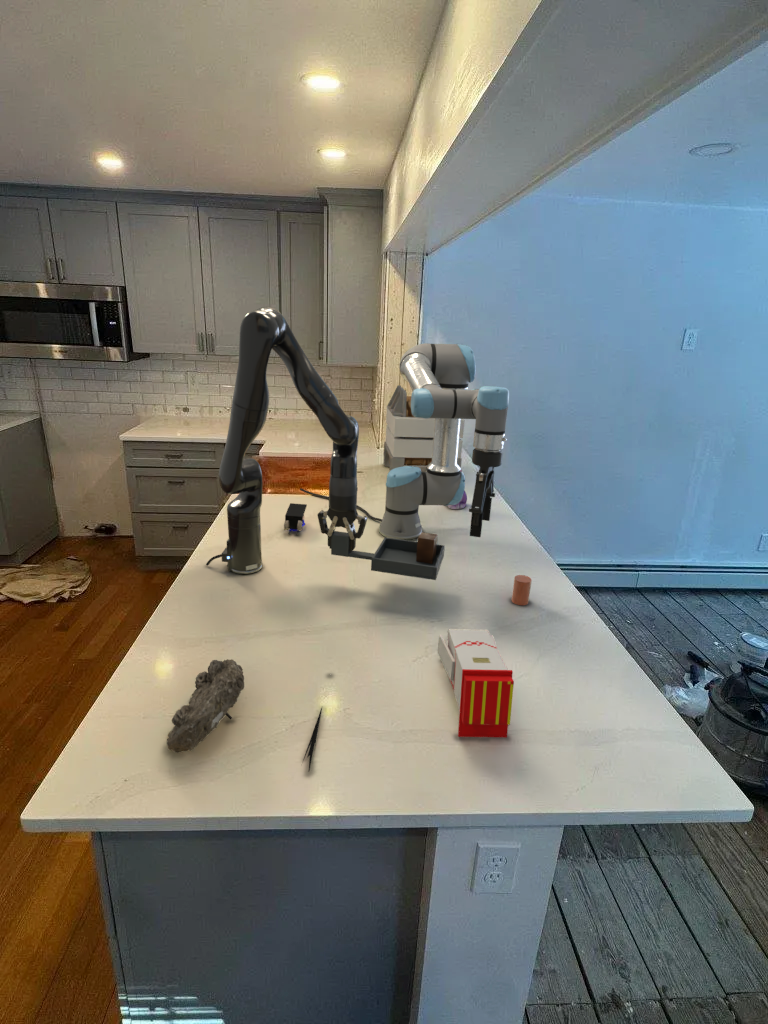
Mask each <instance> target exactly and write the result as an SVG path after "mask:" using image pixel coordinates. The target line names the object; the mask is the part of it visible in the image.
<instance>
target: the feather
mask: <svg viewBox="0 0 768 1024" xmlns="http://www.w3.org/2000/svg"><path fill="white" fill-rule="evenodd" d="M329 675H330V676H331V675H332V674H331V673H330V674H329ZM322 710H323V707H321V708H320V710H319V713H318V716H317V719H316V723H315V725H314V728H313V731H312V733H311V737H310V739H309V742H308V745H307V748H306V751H305V754H304V757H303V760H302V763H301V767H302V765H303V763H304V761H305V758H308V759H309V760H308V762H307V763H308V764H307V766H308V771H310V770H311V766H312V765H311V764H312V760H313V757H315V756H314V755H315V751H316V749H315V746H317V739H318V733H319V729H320V722H321V717H322V712H323V711H322ZM313 754H314V755H313ZM306 755H307V757H306Z"/></svg>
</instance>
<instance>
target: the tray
mask: <svg viewBox="0 0 768 1024" xmlns="http://www.w3.org/2000/svg"><path fill="white" fill-rule="evenodd" d="M349 539H350V536H349V533H348V532H347V531H346V532H345V531H339V530H335V531H334V533H333V534H332V540H331V549H330V555H332V556H339V557H345V558H355V559H361V560H368V561H370V571H372V572H378V573H386V574H392V575H397V576H398V575H399V576H405V577H412V578H419V579H425V580H432V581H436V580H437V577H438V574H439V572H440V570H441V566H442V563H443V560H444V557H445V548H446V547H445V545H444V544H438V543H437V546H436V557H435V559H434V561H433V563H432V564H430V563H424V562H418V561H416V556H417V543H418V541H417V540H416V541H414V540H401V539H394V538H387V537H384V538H383V539H382V541H381V543H380V544H379V546H378V547H377V549H376V550H375V552H366V551H359V550H353V551H352V552H350V551H349Z"/></svg>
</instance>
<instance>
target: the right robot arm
mask: <svg viewBox="0 0 768 1024" xmlns="http://www.w3.org/2000/svg"><path fill="white" fill-rule="evenodd" d="M476 370H477V368H476V357H475V354H474V350H473V349H472V347H470V346H469V345H467V344H466V345H465V344H458V343H429V342H424V343H419V344H416V345H414V346H412V347H411V348H409V349H408V350H407V351H405V352H404V354H403V355H402V356H401V358H400V361H399V372H400V375H401V377H402V379H403V380H404V381H406V382H407V383H408V385H409V387H410V390H411V395H410V396H411V413H412V415H413V416H414V417H418V418H424V419H428V418H435V424H434V437H433V451H432V462H431V463H430V464H429V465H427V466H426V471H422V469H421V467H420V466H407V465H404V466H403V467H398V468H394V469H392V470H391V471H390V470H388V473H387V475H386V480H385V481H386V482H385V487H386V488H385V504H384V505H385V507H384V508H385V509H384V513H383V515H382V518H378V517H375V516H373V515H371V514H370V513H369V512H368V511H367V510H366V509H365V508H363V507H361V506H360V505H357V508H356V509H358V510H360V511H362V512H363V513H364V514H365V516H366V517H367V518H369V519H371V520H373V521H378V522H379V527H378V533H379V534H380V535H381V536H382V537H384V538H385V537H387V538H394V539H401V540H409V541H412V540H415V539H418V537H419V535H420V534H421V532H423V525H422V524H421V518H420V515H419V507H420V506H444V507H448V506H447V505H456V504H458V503H459V502H460V501H461V499H462V496H463V493H464V491H465V489H466V477H465V474H464V472H463V471H462V472H460V471H461V470H462V467H461V468H460V467H459V466H458V465H457V454H458V443H459V431H460V420H461V419H464V420H475V425H474V432H473V443H472V446H473V448H474V449H472V456H471V463H472V464H473V465H475V466H478V467H479V469H478V471H476V474H475V484H474V489H473V496H472V502H471V506H470V508H468V512H469V513H471V519H470V529H469V537H474V538H481V536H482V528H483V521H486V522H490V520H491V519H490V518H491V510H492V500H493V498H495V497H496V493H495V490H494V489H495V488H494V487H495V468H498V467H501V465H502V464H503V455H504V453H503V451H502V450H503V449H504V445H505V442H507V440H508V439H507V437H505V435H506V427H507V419H508V410H509V406H510V391H509V389H508V388H506V387H504V386H503V387H502V386H495V385H493V386H492V385H485V386H484V385H483V386H481V387H479V388H472V389H469V383H470V384H472V383H473V382H474V380H475V379H476V372H477V371H476ZM299 491H301V492H304V494H308V495H311V496H314V497H318V498H322V499H327V500H329V496H326V495H323V494H318V493H315V492H312V491H309V490H306V489H304V488H302V487H300V488H299Z"/></svg>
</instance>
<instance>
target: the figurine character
mask: <svg viewBox="0 0 768 1024" xmlns="http://www.w3.org/2000/svg"><path fill="white" fill-rule="evenodd" d="M307 506H308V505H307V504H306V503H294V502H293V503H292V502H291V503H289V505H288V508H287V510H286V512H285V515H284V524H283V530H284V531H288V532H287V534H288V535H289V536H290V535H291V533H292V532H296V535H297V536H298V535H300V531H302V530H303V527H304V526H305V525H306V522H305V512H306V510H307Z"/></svg>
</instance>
